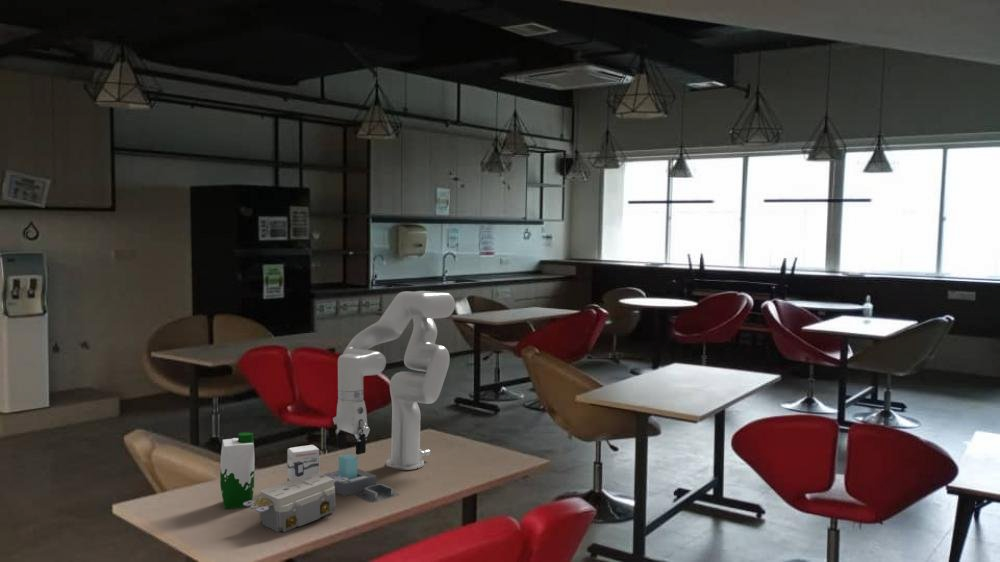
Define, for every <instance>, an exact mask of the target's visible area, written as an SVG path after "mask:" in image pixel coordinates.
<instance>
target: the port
mask: <svg viewBox="0 0 1000 562" xmlns="http://www.w3.org/2000/svg"><path fill="white" fill-rule="evenodd" d="M330 473H335V475H338V473H339V470H336V471H331V472H330ZM324 474H325V473H324ZM324 474H322V475H324ZM377 481H378V476H377V475H375V474H373V473H370V472H368V471H364V470H363V469H360V468H357V477H355V478H351V479H348V481H345V482H338V481H337V482H334V486H335V494H338V495H340V496H342V497H346V496H349V495H350V496H351V495H353V494H357V493H361V492H363V488H365V487H368V486H372V485H376V484H378V482H377Z"/></svg>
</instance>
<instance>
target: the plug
mask: <svg viewBox="0 0 1000 562" xmlns="http://www.w3.org/2000/svg"><path fill="white" fill-rule="evenodd" d="M358 456H359V455H358ZM358 456H357V455H356V454H352V453H346V454H343V455H339V456H338V471H339V473H338V475H339V476H341V478H342V477H346V478H348V479H351V478H355V477H357V469H358V463H359V461H358Z"/></svg>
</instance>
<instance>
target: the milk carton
mask: <svg viewBox="0 0 1000 562" xmlns="http://www.w3.org/2000/svg"><path fill="white" fill-rule="evenodd" d="M237 435H238V436H237V437H233V438H226V439H222V443H221V450H220V467H219V468H220V472H219V473H220V481H219V483H220V491H221V496H222V501H223V505H224V510H231V509H240V508H248V507H250V508H251V506H244V505H243V503H244V502H247V501H251V500H253V498H254V489H255V444H254V443H255V441H254V433H253V432H251V431H243V432H239V433H238V434H237ZM248 504H249V503H248Z"/></svg>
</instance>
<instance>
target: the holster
mask: <svg viewBox="0 0 1000 562" xmlns="http://www.w3.org/2000/svg"><path fill="white" fill-rule="evenodd" d="M356 496H357V497H359V498H361V499H364V500H365V501H368V502H370V503H376V502H377V503H378V502H380V501H384V500H387V499H390V498H394V497H397V496H401V495H400V494H399V493H397V492H394V488H393V487H391V486H389V485H386V484H383V483H377V484H376V485H372V486H368V487H365V488H363V491H362V493H361V494H356Z"/></svg>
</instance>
